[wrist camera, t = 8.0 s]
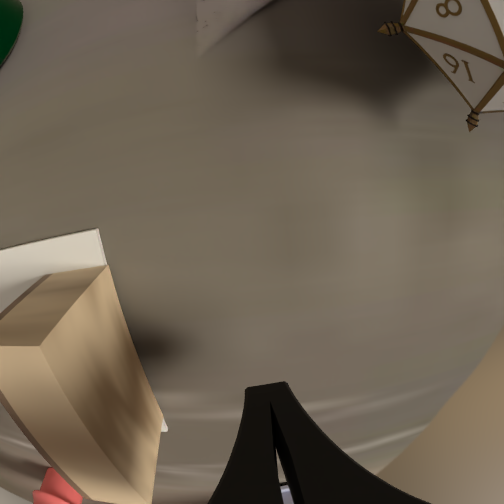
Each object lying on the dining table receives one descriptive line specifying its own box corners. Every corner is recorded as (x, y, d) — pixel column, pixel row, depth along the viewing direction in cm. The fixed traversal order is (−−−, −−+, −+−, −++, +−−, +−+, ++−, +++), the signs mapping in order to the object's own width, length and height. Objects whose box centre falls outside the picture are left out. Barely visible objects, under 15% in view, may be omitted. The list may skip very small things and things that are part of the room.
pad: (167, 427, 15) (167, 431, 15) (49, 421, 15) (48, 424, 14) (98, 227, 11) (95, 229, 11) (-30, 257, 11) (-33, 259, 11)
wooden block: (163, 415, 15) (151, 507, 9) (108, 415, 14) (83, 498, 9) (108, 264, 12) (39, 346, 6) (45, 274, 11) (-33, 344, 6)
